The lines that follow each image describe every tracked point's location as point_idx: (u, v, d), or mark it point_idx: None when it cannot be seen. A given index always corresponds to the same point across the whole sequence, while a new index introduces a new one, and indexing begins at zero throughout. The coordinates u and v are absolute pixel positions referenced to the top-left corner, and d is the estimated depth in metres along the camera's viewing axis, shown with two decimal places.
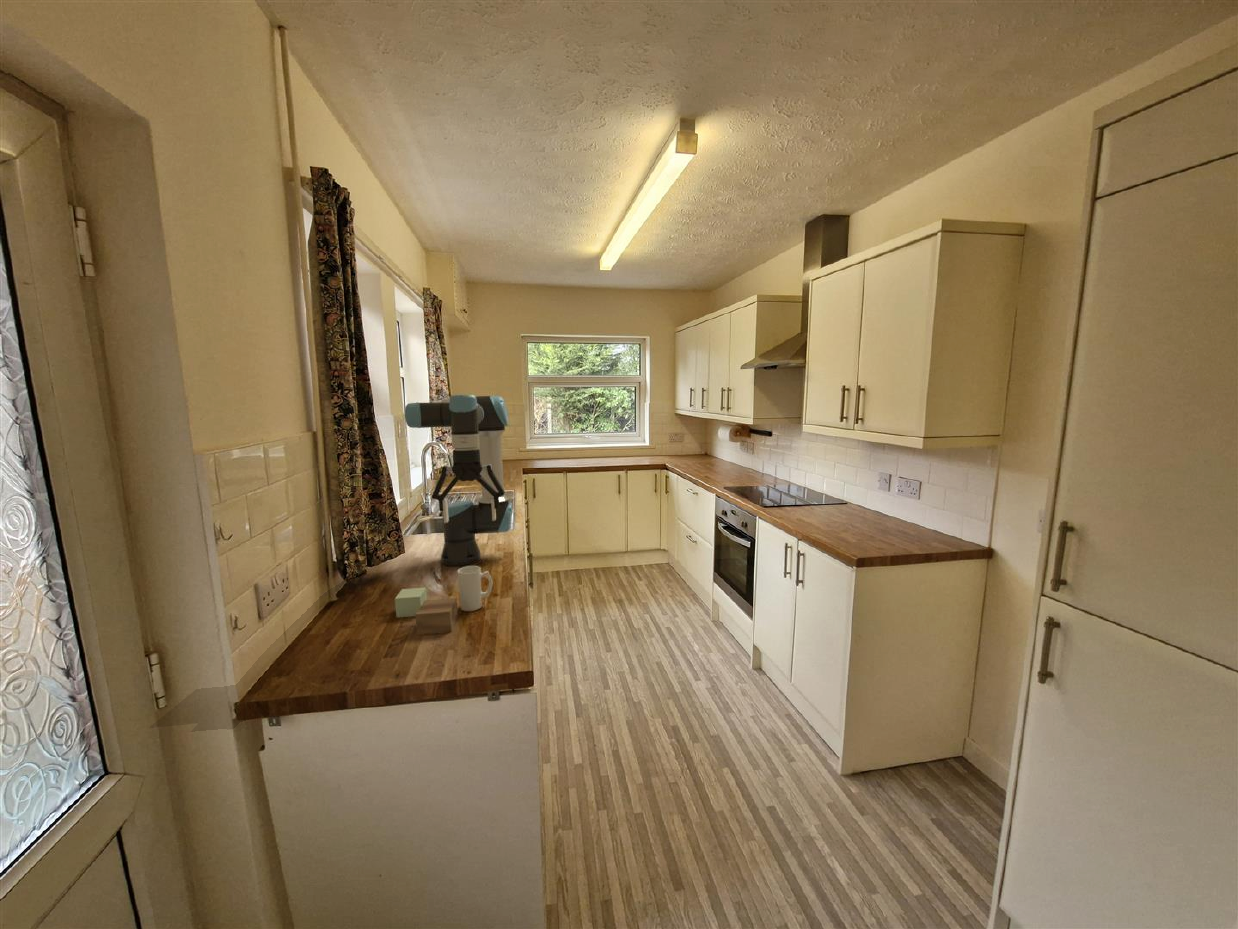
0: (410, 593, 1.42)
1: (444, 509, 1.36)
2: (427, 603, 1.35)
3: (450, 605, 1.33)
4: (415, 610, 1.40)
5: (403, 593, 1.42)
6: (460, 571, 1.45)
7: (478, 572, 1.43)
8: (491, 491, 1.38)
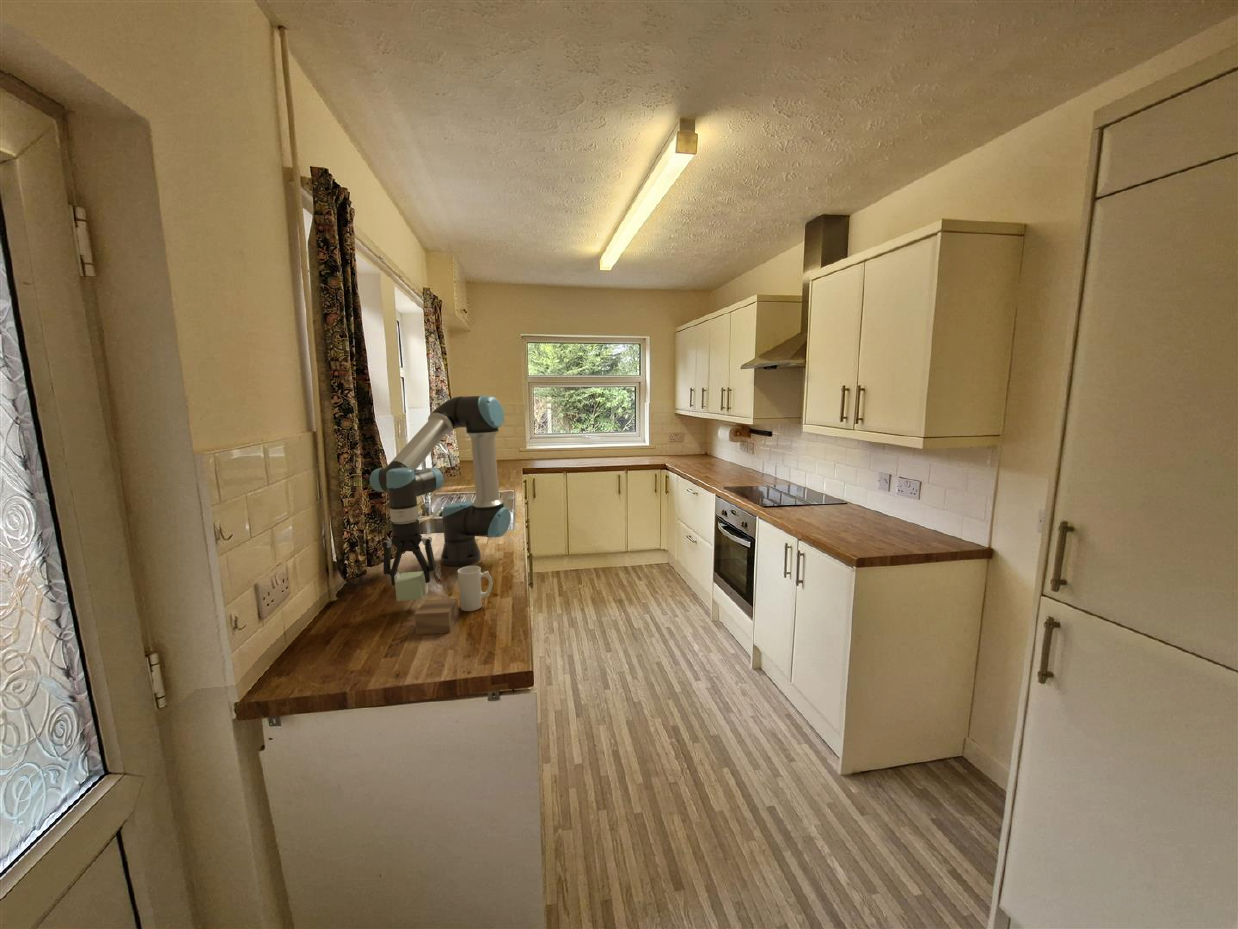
0: (410, 577, 1.41)
1: None
2: (427, 602, 1.35)
3: (450, 605, 1.33)
4: (415, 593, 1.40)
5: (403, 577, 1.42)
6: (460, 571, 1.45)
7: (478, 572, 1.43)
8: (423, 566, 1.41)
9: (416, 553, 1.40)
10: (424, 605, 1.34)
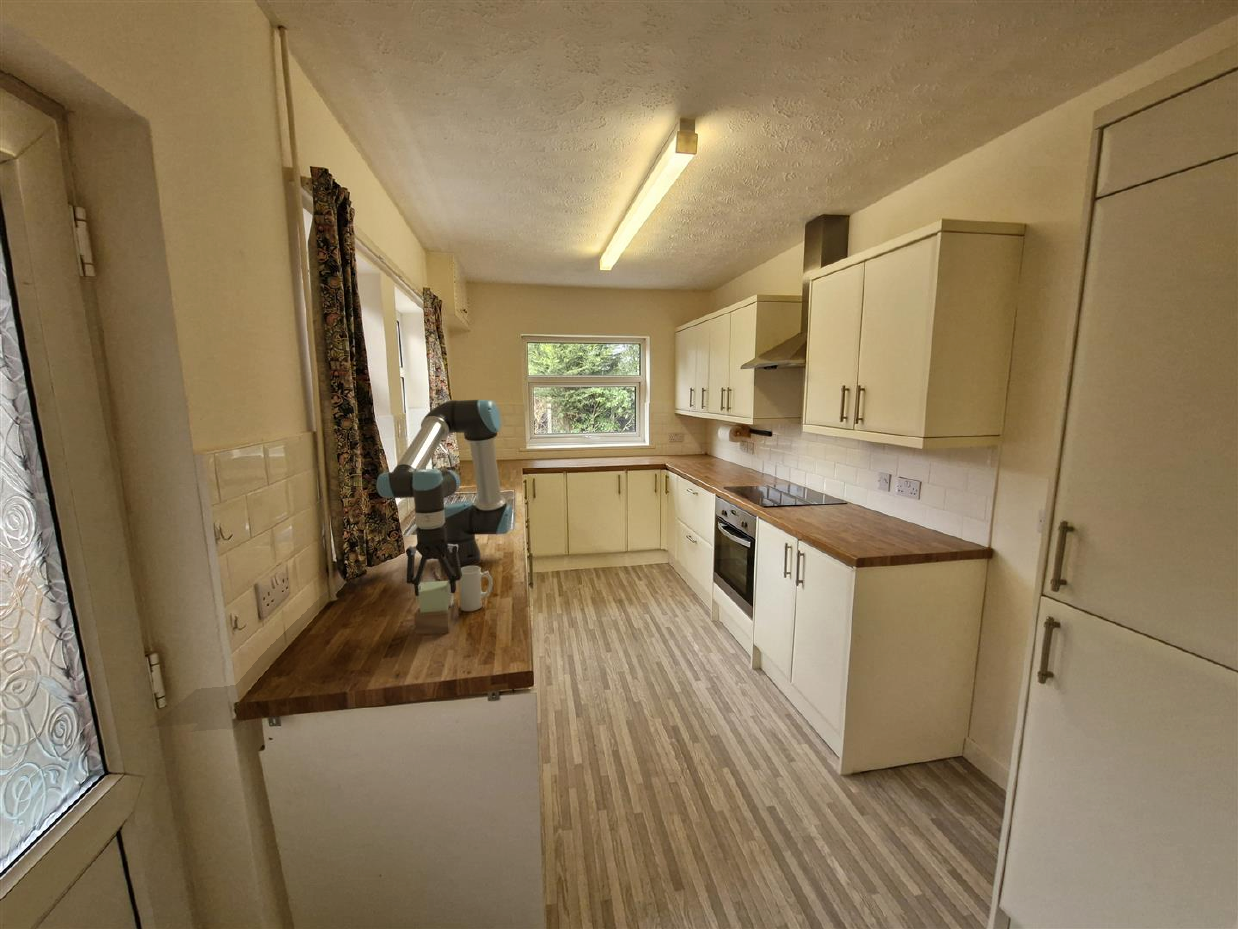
0: (435, 587, 1.31)
1: None
2: None
3: (449, 606, 1.33)
4: (440, 604, 1.30)
5: (427, 586, 1.32)
6: None
7: (478, 572, 1.43)
8: (449, 575, 1.31)
9: (442, 561, 1.30)
10: None
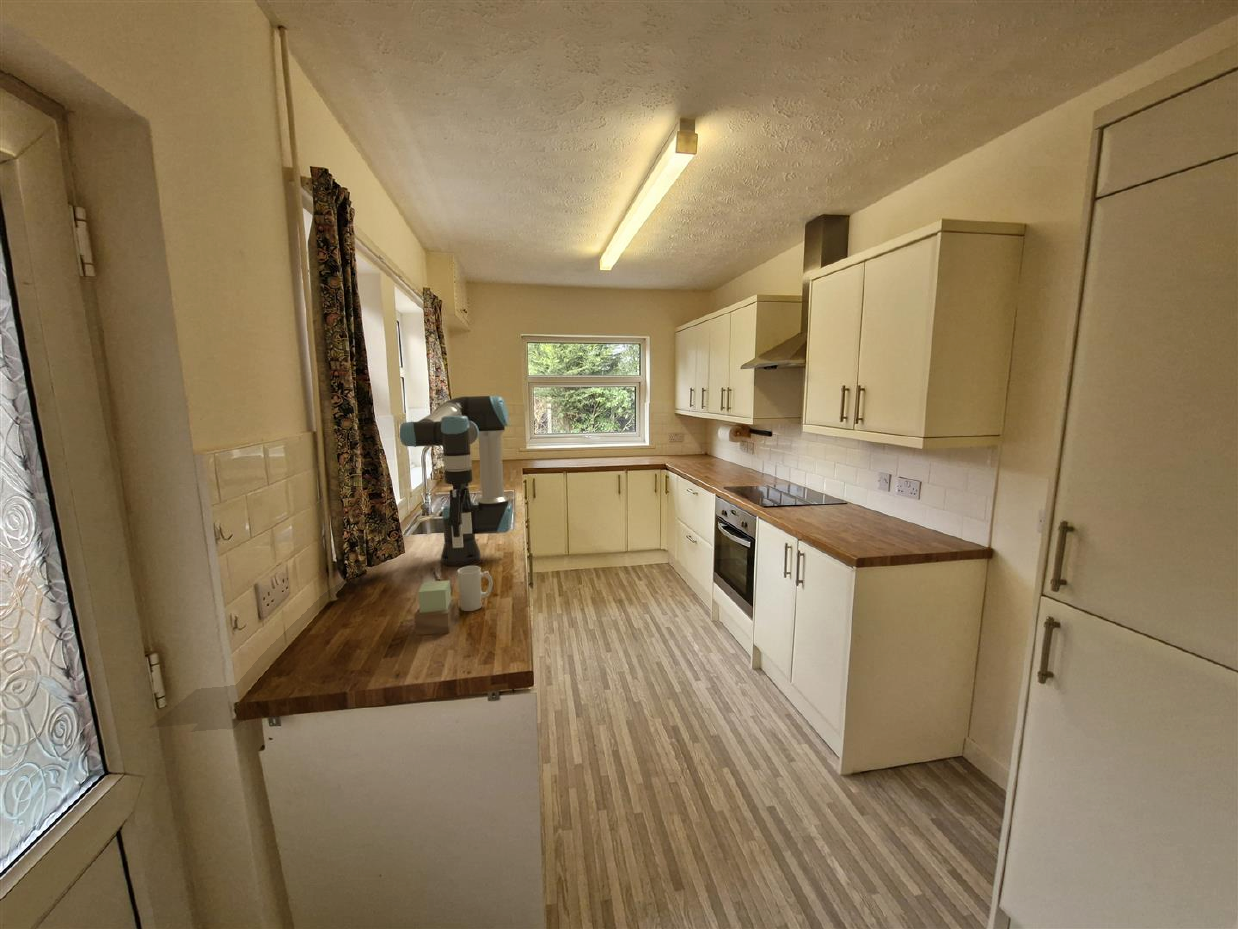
0: (434, 587, 1.31)
1: None
2: None
3: (450, 606, 1.33)
4: (440, 604, 1.30)
5: (426, 586, 1.32)
6: (460, 571, 1.45)
7: (478, 572, 1.43)
8: None
9: None
10: None
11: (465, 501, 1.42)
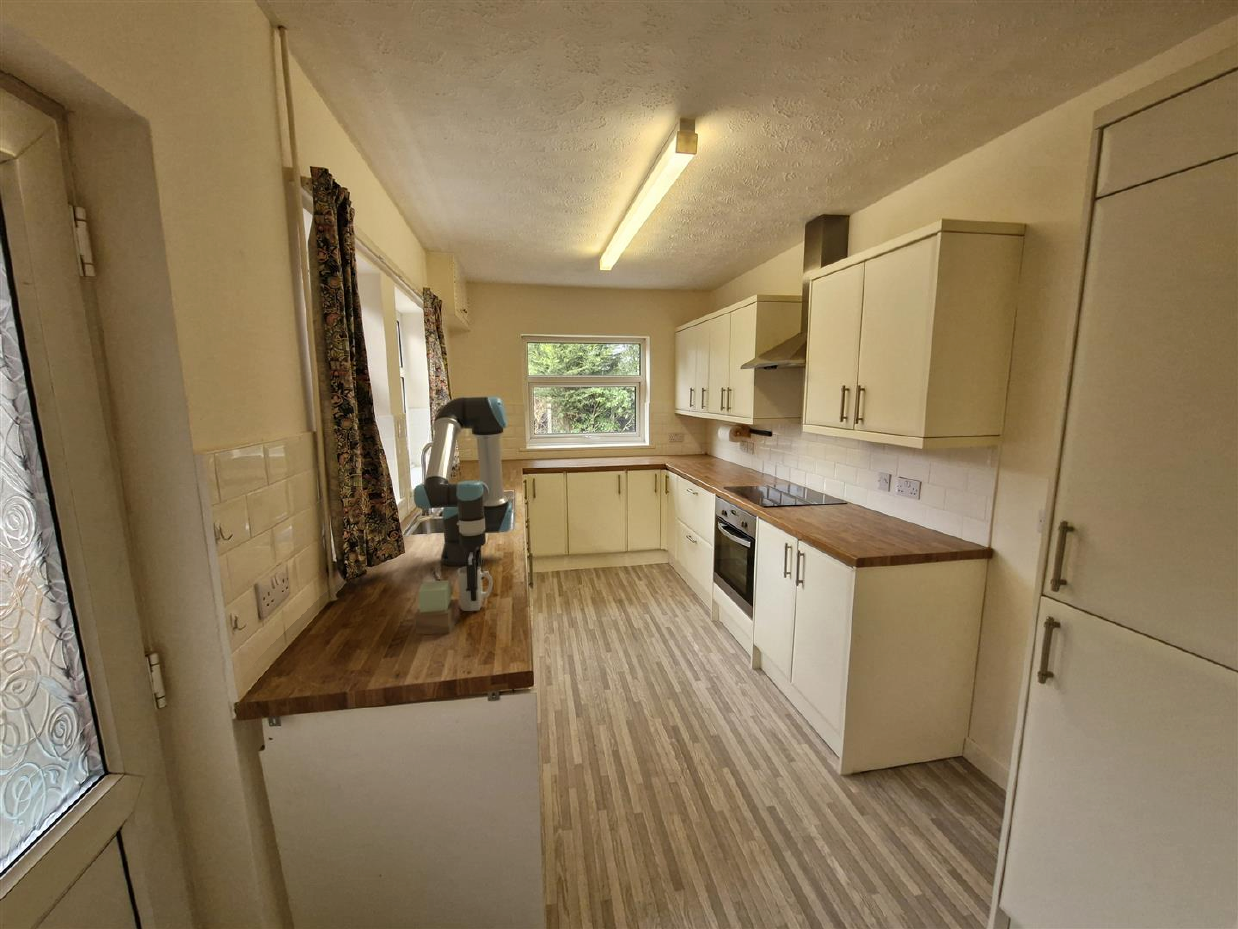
0: (434, 586, 1.31)
1: None
2: None
3: (450, 606, 1.33)
4: (440, 604, 1.30)
5: (426, 586, 1.32)
6: (460, 571, 1.45)
7: (478, 572, 1.43)
8: None
9: None
10: None
11: None
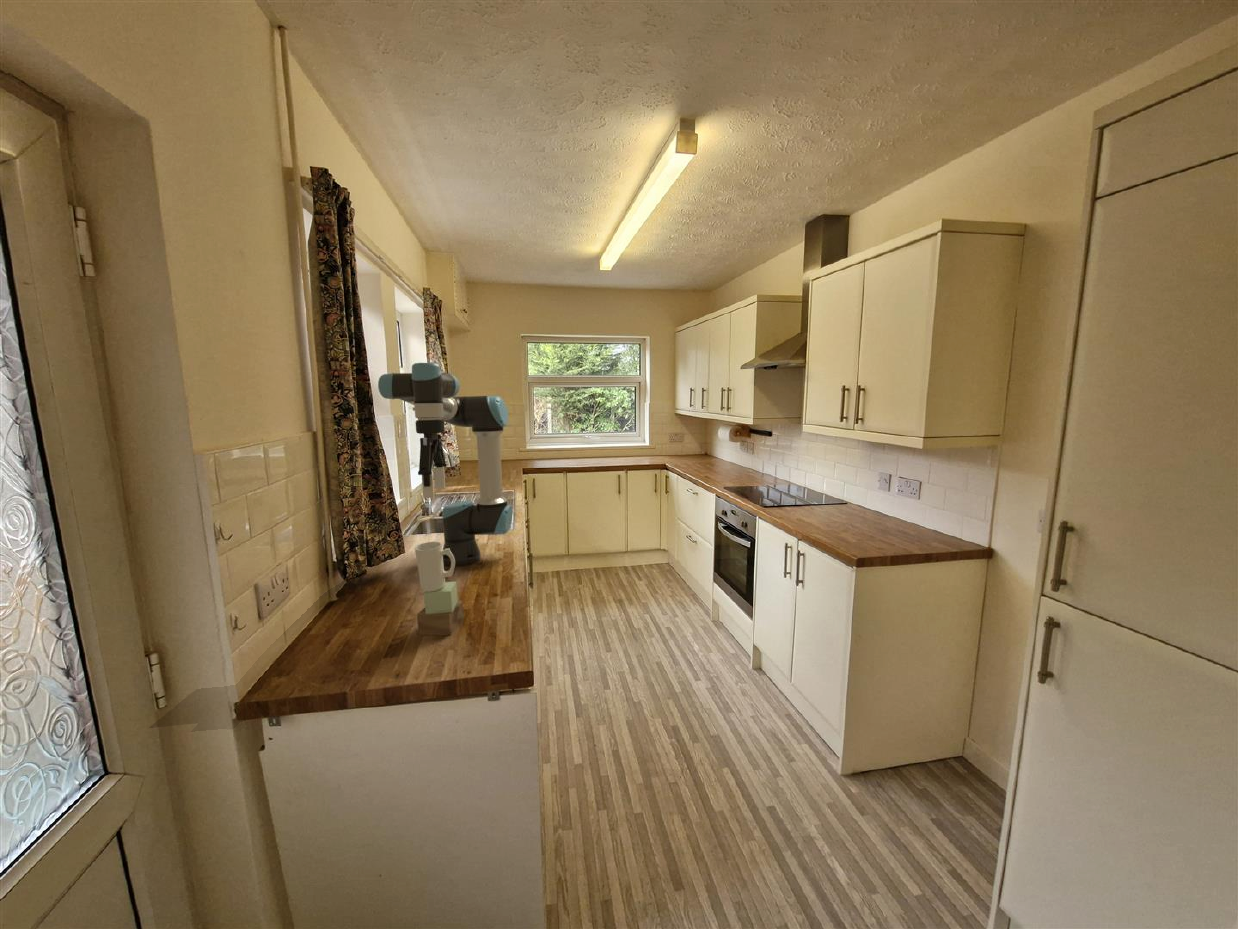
0: None
1: None
2: None
3: None
4: (445, 605, 1.28)
5: None
6: (420, 547, 1.30)
7: (436, 549, 1.27)
8: None
9: None
10: None
11: (438, 454, 1.38)
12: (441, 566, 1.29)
